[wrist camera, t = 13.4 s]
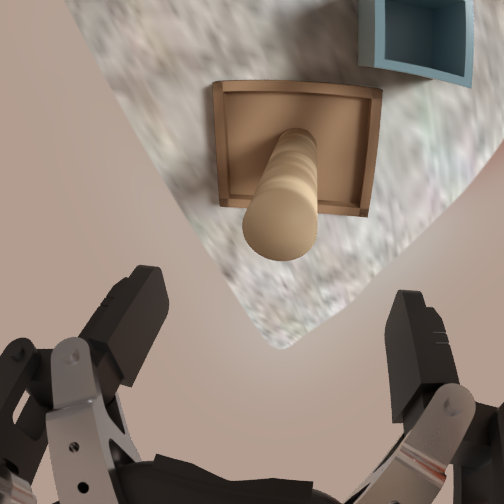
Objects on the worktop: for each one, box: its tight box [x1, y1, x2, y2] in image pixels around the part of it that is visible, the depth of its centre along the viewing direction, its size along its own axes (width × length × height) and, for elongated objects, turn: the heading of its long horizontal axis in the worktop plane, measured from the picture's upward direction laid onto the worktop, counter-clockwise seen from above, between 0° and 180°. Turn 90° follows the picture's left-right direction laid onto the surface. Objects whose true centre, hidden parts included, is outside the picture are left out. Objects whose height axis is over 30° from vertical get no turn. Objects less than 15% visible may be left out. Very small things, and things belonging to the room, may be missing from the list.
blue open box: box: [358, 0, 474, 88], centre depth 16 cm, size 7×7×7 cm
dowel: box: [242, 128, 317, 261], centre depth 19 cm, size 3×3×14 cm
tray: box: [212, 80, 383, 217], centre depth 25 cm, size 13×11×2 cm
